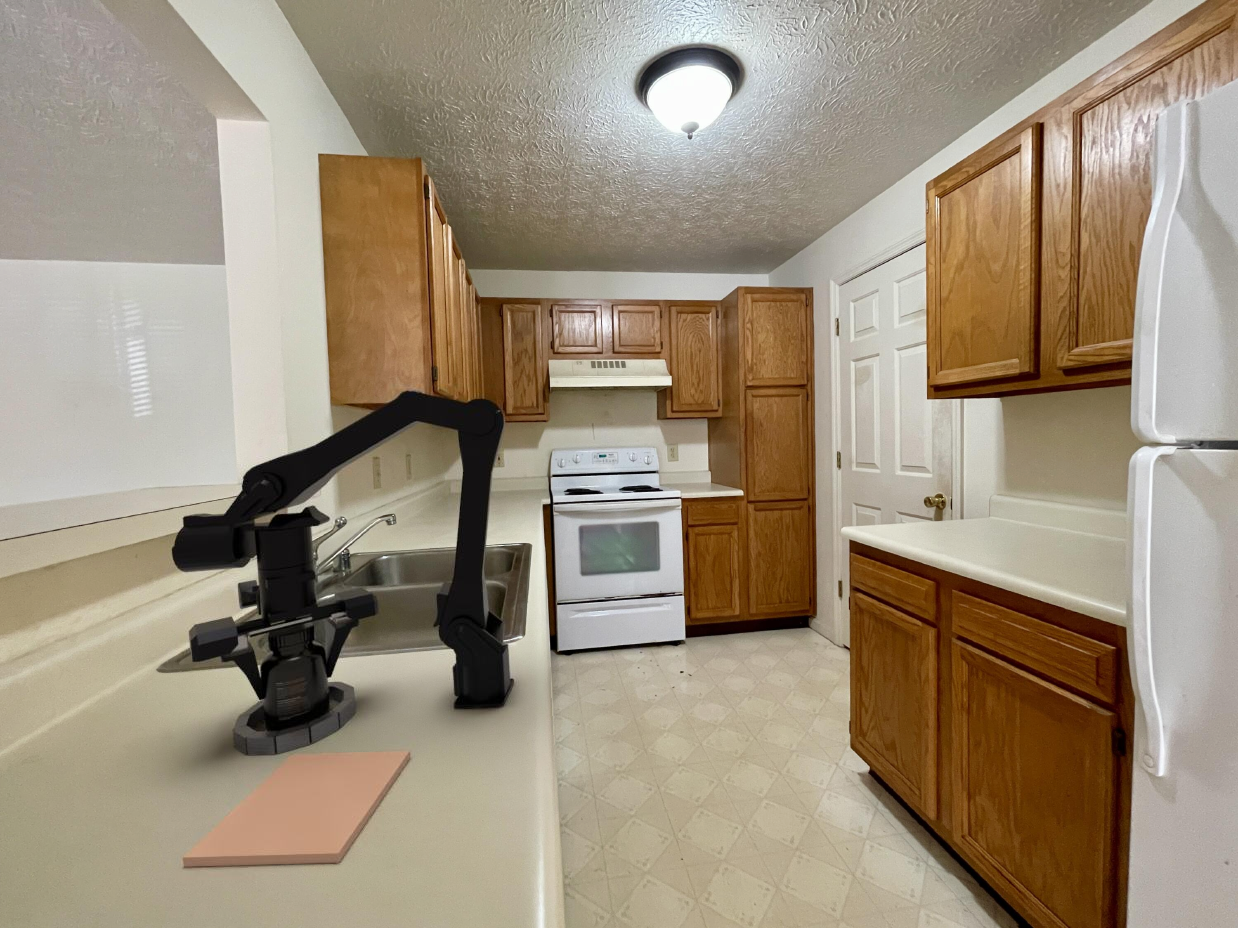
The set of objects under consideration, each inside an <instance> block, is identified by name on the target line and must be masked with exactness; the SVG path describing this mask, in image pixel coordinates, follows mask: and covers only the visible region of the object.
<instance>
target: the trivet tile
mask: <svg viewBox="0 0 1238 928" xmlns="http://www.w3.org/2000/svg"><path fill="white" fill-rule="evenodd" d="M410 759H411V751H410V750H393V751H392V750H390V751H385V750H384V751H359V752H358V751H357V752H356V751H354V752H327V753H324V752H323V753H321V752H320V753H296V754H295V753H294V754H291V755H290V756H289V757H288V758H287V759H286V760H285V761H283V762H282V764H281V765H279V766H278V767H277V768H276V769H275V770H274V771H273V772H272V773H271V774H270V775H269V776H268V777H267V778H265V779H264V780H263V782H261V783H260V784H259V785H258V786H257V787H256V788H255V789H254V790H253V791H252V792H251V793H250V794H249V795H248V796H246V797H245V798H244V799H243V800H242V801H241V802H240V803H239V804H238V805H237V806H236V807H235V808H234V809H233V810H232V811H231V812H229V813H228V815H226V816H225V817H224V818H223V819H222V820H220V822H218V823H217V824H216V825H215V826H214V827H213V829H211V830H210V831H209V832H208V833H206V835H205V836H204V837H203V838H202V839H201V840H200V841H199V842H198V843H197V844H196V845H195V846H193V847H192V848H191V849H190V850H189V851H188V852H187V853H186V854H185V855H184V856H182V863H183V867H185V868H187V867H191V868H192V867H220V866H221V867H225V866H226V867H227V866H229V867H230V866H262V865H297V864H299V865H301V864H303V865H304V864H331V863H332V864H333V863H337V864H338V863H340V862H341V860H342V859H343V858H344V856H345V855H346V853H347V852H348V850H349V848H350V847H352V844H353V843H354V841H355V840H356V838H357V837H358V835H359V834H360V833H361V831H362V830H363V828H364V827H365V825H366V824H367V823H368V821H369V820H370V819H371V816H372V815H373V813H374V812H375V811H376V810H377V808H378V807H379V804H380V803H381V801H382V800H383V799H384V797H385V796H386V794H387V793H388V791H389V790H390V789H391V787H392V786H393V784H394V783H395V781H396V779H397V778H398V777H399V776H400V774H401V773H402V771H403V770H404V768H405V767H406V765H407V764H408V762H409V761H410Z"/></svg>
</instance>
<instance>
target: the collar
mask: <svg viewBox="0 0 1238 928" xmlns="http://www.w3.org/2000/svg"><path fill="white" fill-rule="evenodd" d="M328 686H329V698H330V702H331V701H334V702H336V703H338V704H337V705H336V706H335V707H334V708H333V709H332V710H330V712H329V713H327V714H325V715H323V716H321V717H319V718H317V719H315V720H313V721H311V722H309V723H306V724H303V725H299V726H295V727H292V728H288V729H284V730H281V731H266V730H264V731H256V730H255V728H256V727H258V726H259V725H260V724H261V723H263V722H265V720H264V709H263V700H259V701H258V702H256V703H255V704H254V705H252V706H251V707H249V708H248V709H247V710H244V712H242V713H240V714H239V716H237V719H236V720H235V723H234V726H233V728H232V739H233V747H234V748H235V749H236V750H237V751H239V752H241V753H242V754H244V755H245V756H266V755H267V756H271V755H272V756H273V755H274V756H275V755H279V754H282V753H286V752H289V751H292V750H296V749H300V748H304V747H306V746H310V745H311V744H312V745H313V744H314V743H316V742H318V741H320V740H322V739H324V738H325V737H327V736H329V735H331V734H333V733H335V732H336V731H338V730H340V729H342V728H343V726H344V725H346V724H347V723H348V721H350V720H351V719H352V717H353V716H354V715H355V714H356V696H355V695H356V694H355V691H356V690H355V687H354V686H352V685H351V684H349V683H345V682H343V681H328Z"/></svg>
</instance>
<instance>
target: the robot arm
mask: <svg viewBox="0 0 1238 928" xmlns="http://www.w3.org/2000/svg"><path fill="white" fill-rule="evenodd" d="M423 423H424V424H428V425H433V426H437V427H442V428H445V429H451V430H455V431H457V436H458V447H459V453H460V458H461V459H460V460H461V463H462V478H461V490H460V499H459V501H460V502H459V511H458V513H459V514H458V523H457V535H456V536H457V537H456V544H455V545H456V547H455V558H454V571H453V577H452V581H451V582H449V581H445V580H444V581H443V582H442V584H441V585H440V588H439V590H438V592H437V594H436V610H437V612H436V613H437V614H436V618H435V621H434V623H433V625H432V626H433V628H437V627H438V631H437V632H438V637H439V639H440V641H441V642H442V643H443V644H444V645H445V646H446V647H447V648H448V649H452V650H453V652H454V654H455V663H454V665H453V666H452V677H453V678H452V679H453V683H452V684H453V695H454V696H455V697H456V698H455V700H454V702H453V708H454V709H463V708H465V709H469V708H471V709H472V708H473V709H474V708H491V707H492V708H498V707H499V708H500V707H502V706H504V705H505V703H506V701H507V699H508V696H509V694H510V692H511V690H512V688H513V685H514V684H515V679H514V678H511V671H510V670H511V667H510V650H509V644H508V643H504V639H505V638H504V637H505V627H506V625H505V623H506V622H505V621H504V620H503V619H501V618H500V617H499V616H498V615H496V613H494V612H493V611H492V610H490V609H489V608H490V607H489V600H488V599H489V598H488V589H487V588H488V587H487V581H486V576H485V559H486V550H487V538H488V527H489V517H490V504H491V493H492V482H493V480H492V479H493V471H494V468H495V465H496V461H497V458H498V455H499V451H500V448H501V443H502V440H503V437H504V432H505V429H506V418H505V415H504V413H503V410H502V409H501V408H500V407H499V405H498V404H496V403H494V401H492V400H490V399H486V398H483V397H482V398H474V399H471V400H468V401H467V402H464V401H460V400H457V399H451V398H447V397H442V396H436V395H432V394H428V393H424V392H423V391H422V392H421V391H419V390H416V389H407V390H404V391H402V392H401V393H399V394H398V396H397V397H395V398H394V399H392V400H390V401H389V402H387V403H385V404H384V405H381V406H380V407H378V408H376V409H375V410H373V411H372V412H369V413H368V414H366V415H364V416H363V417H361V418H360V419H358V420H356V421H354V422H352V423H351V424H349V425H347V426H345V427H344V428H342V429H340V430H339V431H336V432H335V433H333V434H331V435H330V436H327V438H325V439H323V440H321V441H320V442H317V443H316V444H314V445H311V446H309V447H306V448H303V449H299V450H297V451H294V452H290V453H287V454H285V455H280V456H278V457H275V458H272V459H270V460H267V461H264V462H261V463H259V464H257V465H254V466H252V467H251V468H249V469H248V470H247V471H246V472H245V473H244V475H243V476H242V483H241V491H240V493H239V494H238V495H237V496H236V498H235V499H234V501H233V502H232V503H231V505H230V506H229V507H228V508H227V510H226V511H225V513H217V514H216V513H215V514H214V513H213V514H212V513H193V514H189V515H185V516H183V517H182V525H183V526H182V527H181V528H180V529H179V530H178V533H177V534H176V537H175V540H174V543H173V546H172V547H171V556H172V560H173V563H174V565H175V566H176V568H177V569H178V570H179V571H181V572H183V573H192V572H193V573H194V572H207V571H217V570H218V571H219V570H229V569H241V568H245V567H246V566H247V565H248V564H249V562H251V559H254V558H256V567H257V578H258V581H257V579H253V580H252V579H251V580H247V581H243V582H238V583H237V595H238V603H239V609H240V610H243V609H247V608H252V607H256V612H257V614H258V616H260V618H256V619H252V620H248V621H243V622H240V623H235V620H234V618H233V616H231V615H230V616H227V617H223V618H217V619H214V620H210V621H205V622H200V623H196V624H193V626H192V627H191V628H190V629H189V630H188V639H189V650H190V655H191V661H192V663H200V662H204V661H208V660H212V659H215V658H219V661H220V662H221V663H228V662H229V663H230V662H234V663H235V665H236V666H237V667H238V669H239V670H241V672H242V673H243V674H244V675H245V677H246V678H247V680H248V682H249V684H250V686H251V688H252V689H253V691H254V693H255V694H256V697H257V699H258V700H259V701H261V700H263V699H264V694H263V685H262V681H261V676H260V668H259V665H258V661H257V658H256V657H257V656H256V654H255V650H254V649H255V648H253V645H252V644H251V638H253V637H257V636H262V635H266V634H268V633H270V632H274V631H278V630H282V629H286V628H290V627H294V626H298V625H301V624H305V623H309V622H310V623H313V622H316V621H320V620H321V621H322V620H323V624H324V630H325V638H324V639H325V645H324V649H325V652H326V663H327V674H328V679H330V678H332V676H333V673H334V672H335V668H336V666H337V663H338V660H339V657H340V654H341V652H342V649H343V647H344V646H345V643H346V641H347V639H348V637H349V635H350V633H351V631H352V630H353V628H356V627H359V626H360V620H362V619H366V618H370V617H375V616H376V615H378V614H379V601H378V598H377V595H375V594H374V593H372V592H370V591H369V590H367V589H365V588H364V587H358V588H352V589H349V590H348V589H347V590H343V591H339V592H335V593H334V595H333V601H329V602H324V603H321V604H318V597H317V596H318V595H317V583H316V570H315V561H314V545H313V532H312V527H319V526H321V525H324V524H326V523H328V522H330V521H331V517H330V516H328V515H327V514H326V513H323V512H322V511H320V510H319V509H318V508H317V507H316V505H313V504H312V505H309V506H307V507H304V508H303V509H302V511H301V512H290V513H288V512H287V513H278V512H279V511H281V510H286V509H289V508H292V507H296V506H300V505H302V504H304V503H306V502H307V501H309V499H311V498H312V497H313V496H314V495H316V494H317V493H318V492H319V491H320V490H322V488H324V487H325V486H326V485H327V484H328V483H329V482H330V481H331V480H332V478H333V477H335V475H336V474H338V473H339V472H340V471H341V470H342V469H344V468H346V467H347V466H349V465H351V464H352V463H354V462H355V461H358V459H360V458H362V457H364V456H365V455H368V454H370V453H371V452H372V451H374V450H376V449H377V448H379V447H381V446H383V445H385V444H386V443H388V442H390V441H391V440H393V439H395V438H396V437H398V436H400V435H402V434H403V433H405V432H407V431H408V430H410V429H412V428H414V427H415V426H416V425H417V426H418V424H423ZM276 513H277V514H276ZM274 514H276V515H274ZM270 515H274V516H273V517H272V518H271V519H270V521H267V522H256V521H255V520H257V519H260V518H263V517H267V516H270Z"/></svg>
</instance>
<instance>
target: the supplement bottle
mask: <svg viewBox="0 0 1238 928" xmlns="http://www.w3.org/2000/svg"><path fill="white" fill-rule="evenodd" d="M315 640H316V633H315V625H314V623H313V622H309V623H305V624H301V625H298V626H294V627H290V628H286V629H282V630H278V631H274V632H270V633H267V650H268V651H270V652H268V654H266V655H265V656H264V657H263V659H262V660H261V662H260V665H259V673H260V677H261V681H262V685H263V694H264V699H263V709H264V726H265V731H281V730H284V729H288V728H292V727H295V726H299V725H303V724H306V723H309V722H311V721H313V720H315V719H317V718H319V717H321V716H323V715H325V714H327V713H329V712H331V701H330V698H329V686H328V682H329V678H328V674H327V663H326V652H325V646H323V644H321V643H319V642H316V641H315Z"/></svg>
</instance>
